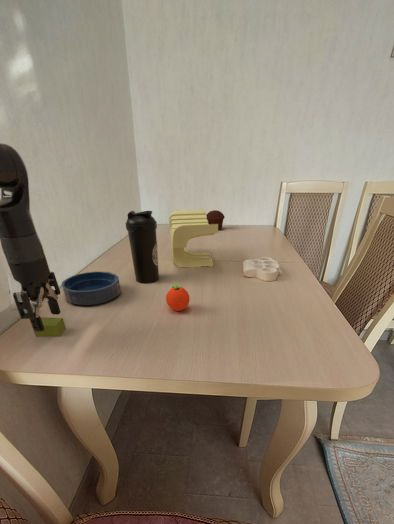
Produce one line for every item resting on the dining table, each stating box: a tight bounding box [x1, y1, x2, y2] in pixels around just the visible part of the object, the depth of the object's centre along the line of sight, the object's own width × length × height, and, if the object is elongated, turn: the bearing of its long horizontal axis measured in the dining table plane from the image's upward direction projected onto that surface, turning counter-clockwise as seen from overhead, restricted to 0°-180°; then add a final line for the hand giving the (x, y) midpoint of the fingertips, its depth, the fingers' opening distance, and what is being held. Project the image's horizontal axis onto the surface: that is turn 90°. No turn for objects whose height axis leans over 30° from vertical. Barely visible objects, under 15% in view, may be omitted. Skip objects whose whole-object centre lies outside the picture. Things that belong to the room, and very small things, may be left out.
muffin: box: [206, 210, 225, 232], centre depth 173 cm, size 12×11×10 cm
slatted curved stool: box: [168, 209, 219, 268], centre depth 120 cm, size 30×16×18 cm, turn 7°
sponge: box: [32, 316, 67, 338], centre depth 74 cm, size 6×4×5 cm, turn 87°
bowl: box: [60, 271, 122, 306], centre depth 96 cm, size 18×18×5 cm
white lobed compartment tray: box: [242, 256, 284, 282], centre depth 112 cm, size 3×18×15 cm
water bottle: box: [125, 210, 160, 284], centre depth 103 cm, size 10×10×23 cm
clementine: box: [165, 285, 191, 312], centre depth 87 cm, size 8×7×7 cm
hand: (48, 321), depth 73 cm, fingers open, 8 cm apart
